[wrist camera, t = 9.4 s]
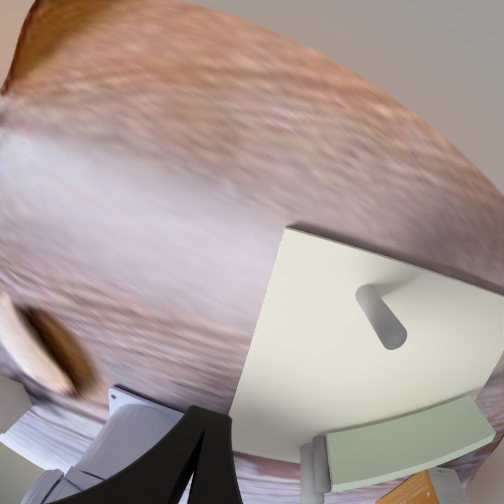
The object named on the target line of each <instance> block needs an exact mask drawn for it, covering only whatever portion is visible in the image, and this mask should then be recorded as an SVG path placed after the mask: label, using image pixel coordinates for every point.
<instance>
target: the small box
mask: <svg viewBox="0 0 504 504" xmlns="http://www.w3.org/2000/svg"><path fill="white" fill-rule="evenodd" d="M375 504H470V503H469V501H468V498H467V496H466V494H465V491H464V489H463V487H462V485H461V482H460V480H459V478H458V476H457V473H456V471H455V469H449V468H442V467H436V466H435V467H432V468H429V469H426V470H423V471H420V472H417V473H415V474H414V475H413V476H412V477H410V478H409V479H408V480H406V481H405V482H404V483H402V484H401V485H400V486H398V487H397V488H396V489H394V490H393V491H392V492H390V493H389V494H387V495H386V496H384V497H383V498H381V499H379V500H378V501H376V502H375Z"/></svg>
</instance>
